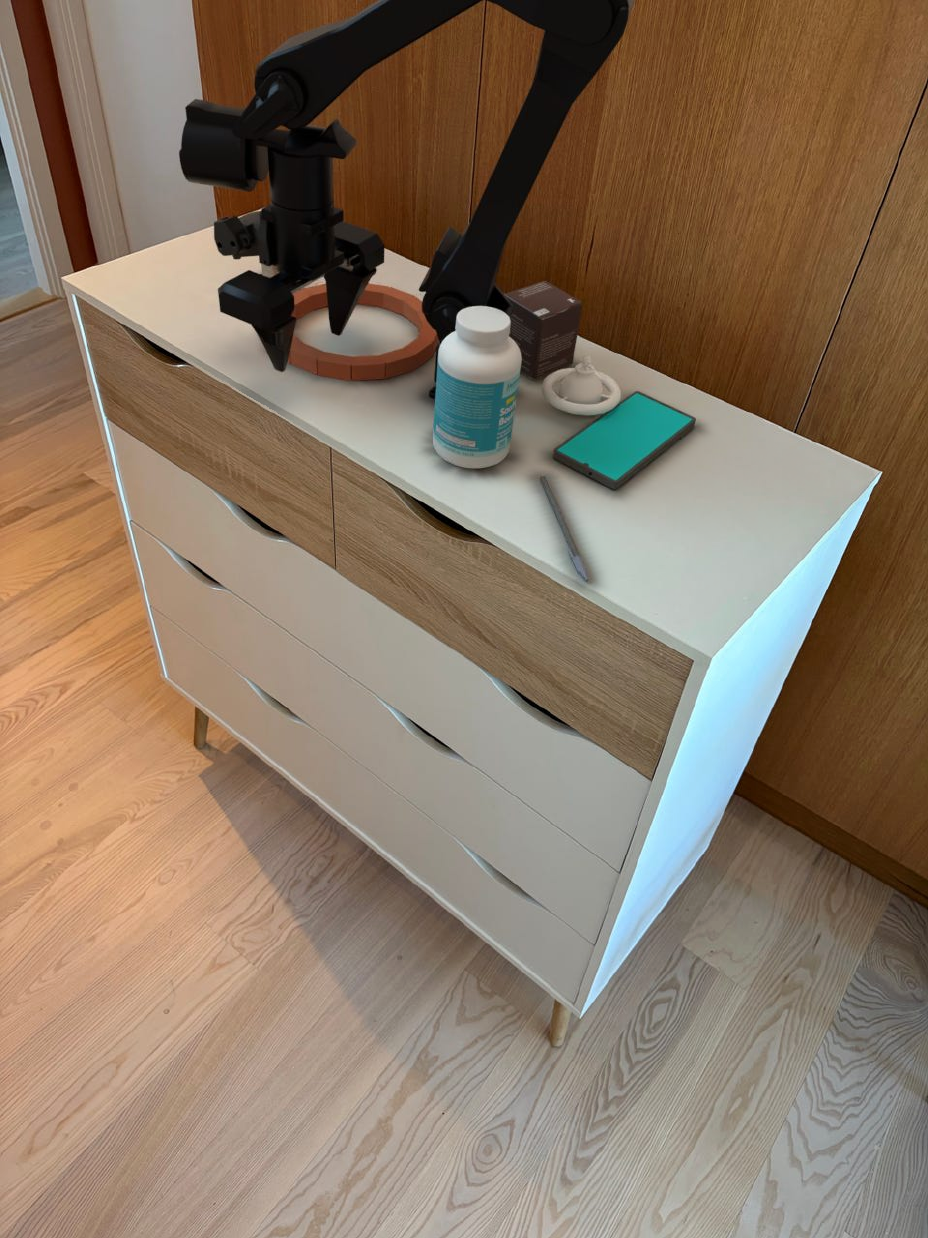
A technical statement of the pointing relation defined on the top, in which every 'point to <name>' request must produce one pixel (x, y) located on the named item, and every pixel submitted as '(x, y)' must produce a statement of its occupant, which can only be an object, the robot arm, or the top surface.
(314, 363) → the ring
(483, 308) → the pill bottle
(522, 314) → the box
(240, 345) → the top surface
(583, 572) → the pen
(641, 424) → the smartphone
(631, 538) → the top surface
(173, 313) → the top surface
